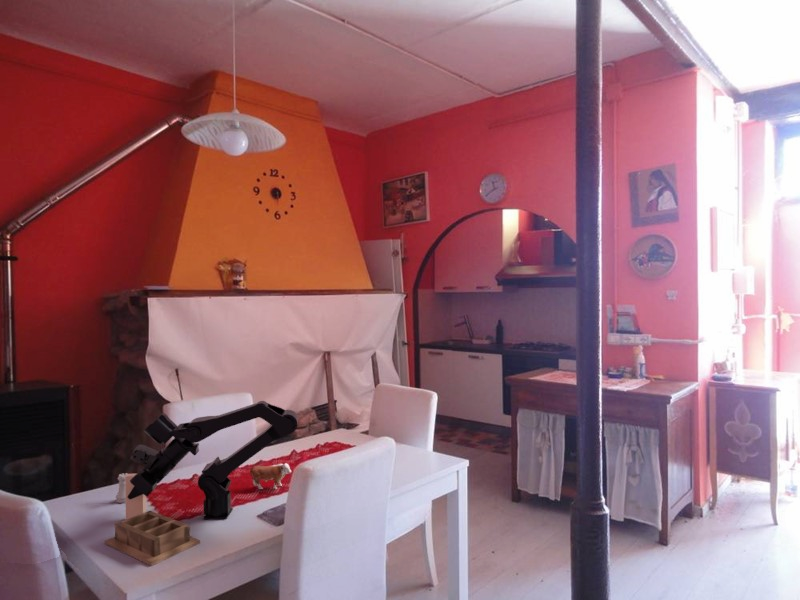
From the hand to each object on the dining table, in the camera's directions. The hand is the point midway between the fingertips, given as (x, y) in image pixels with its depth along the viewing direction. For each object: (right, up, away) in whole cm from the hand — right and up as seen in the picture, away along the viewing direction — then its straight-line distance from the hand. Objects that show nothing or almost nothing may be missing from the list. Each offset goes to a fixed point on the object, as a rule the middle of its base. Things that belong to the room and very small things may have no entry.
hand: (130, 496), depth 145 cm
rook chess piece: (-9, -7, +14) cm, 18 cm away
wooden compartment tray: (+13, -7, -14) cm, 20 cm away
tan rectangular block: (+1, -7, 0) cm, 7 cm away
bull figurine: (+33, -6, +24) cm, 41 cm away
